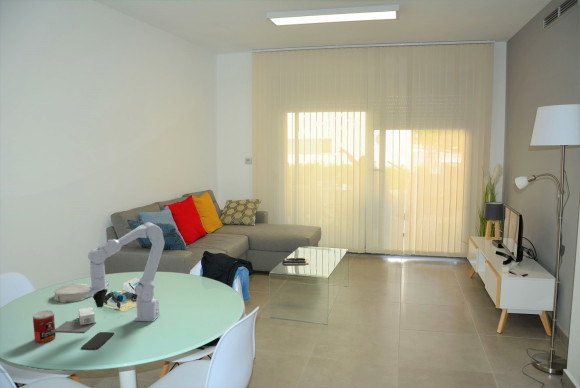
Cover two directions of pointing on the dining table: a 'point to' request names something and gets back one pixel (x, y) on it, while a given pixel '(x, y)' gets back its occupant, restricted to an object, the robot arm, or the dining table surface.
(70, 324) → the mat
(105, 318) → the dining table surface
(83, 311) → the skincare box
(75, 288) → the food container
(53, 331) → the canned food
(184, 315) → the dining table surface
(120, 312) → the dining table surface
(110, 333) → the phone
